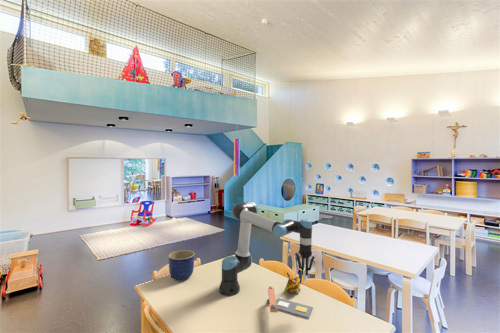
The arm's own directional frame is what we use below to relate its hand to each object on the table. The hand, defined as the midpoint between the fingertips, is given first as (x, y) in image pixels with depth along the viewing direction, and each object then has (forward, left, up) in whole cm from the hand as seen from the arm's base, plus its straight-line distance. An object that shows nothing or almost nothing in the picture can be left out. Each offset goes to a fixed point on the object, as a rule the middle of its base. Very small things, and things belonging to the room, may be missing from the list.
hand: (304, 279), depth 160 cm
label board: (-7, -3, -19) cm, 20 cm away
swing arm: (-17, -14, -17) cm, 28 cm away
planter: (-100, -3, -19) cm, 102 cm away
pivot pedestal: (-22, -3, -19) cm, 29 cm away
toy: (-13, +19, -19) cm, 30 cm away
